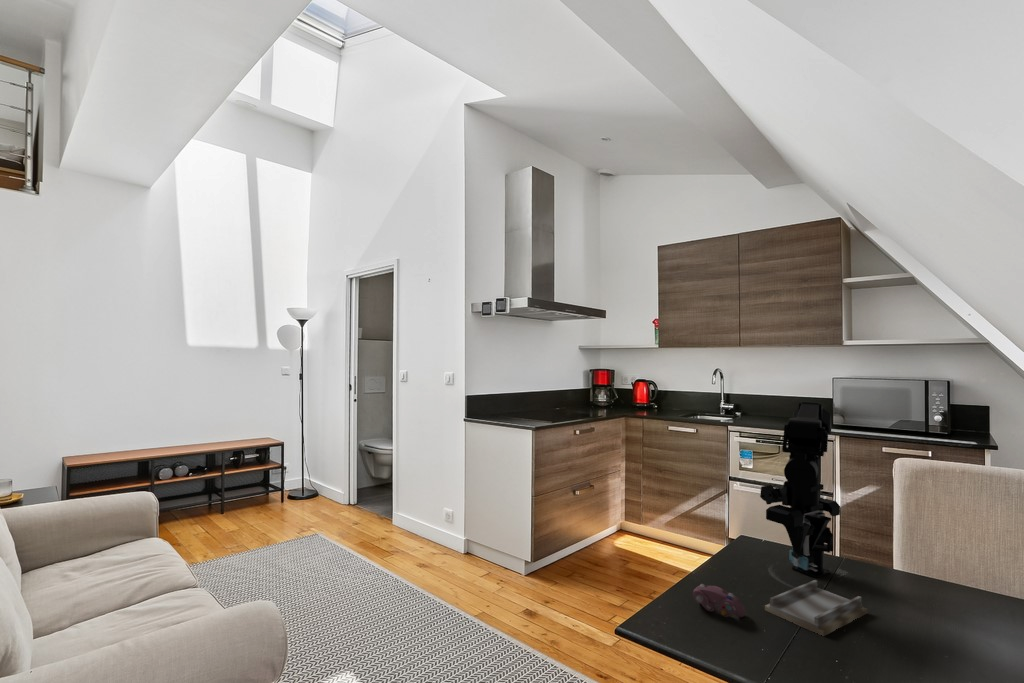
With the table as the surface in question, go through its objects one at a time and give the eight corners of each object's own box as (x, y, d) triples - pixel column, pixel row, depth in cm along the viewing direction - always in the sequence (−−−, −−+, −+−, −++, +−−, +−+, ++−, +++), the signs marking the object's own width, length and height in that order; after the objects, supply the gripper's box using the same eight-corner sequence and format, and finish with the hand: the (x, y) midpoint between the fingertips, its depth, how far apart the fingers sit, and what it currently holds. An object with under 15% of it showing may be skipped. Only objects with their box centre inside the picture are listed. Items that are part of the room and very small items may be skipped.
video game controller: (693, 613, 113) (688, 588, 111) (701, 597, 116) (695, 573, 114) (741, 630, 106) (736, 604, 104) (747, 613, 109) (743, 587, 107)
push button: (826, 571, 111) (825, 525, 110) (805, 575, 109) (805, 528, 109) (801, 558, 117) (800, 514, 117) (781, 562, 116) (781, 517, 115)
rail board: (809, 591, 121) (809, 578, 121) (867, 613, 111) (867, 599, 111) (764, 610, 111) (764, 596, 112) (823, 636, 101) (823, 620, 101)
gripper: (792, 466, 125) (791, 532, 125) (743, 474, 115) (743, 546, 115) (841, 476, 115) (841, 547, 115) (793, 486, 106) (792, 564, 106)
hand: (803, 550), depth 113 cm, fingers closed on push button, 4 cm apart
